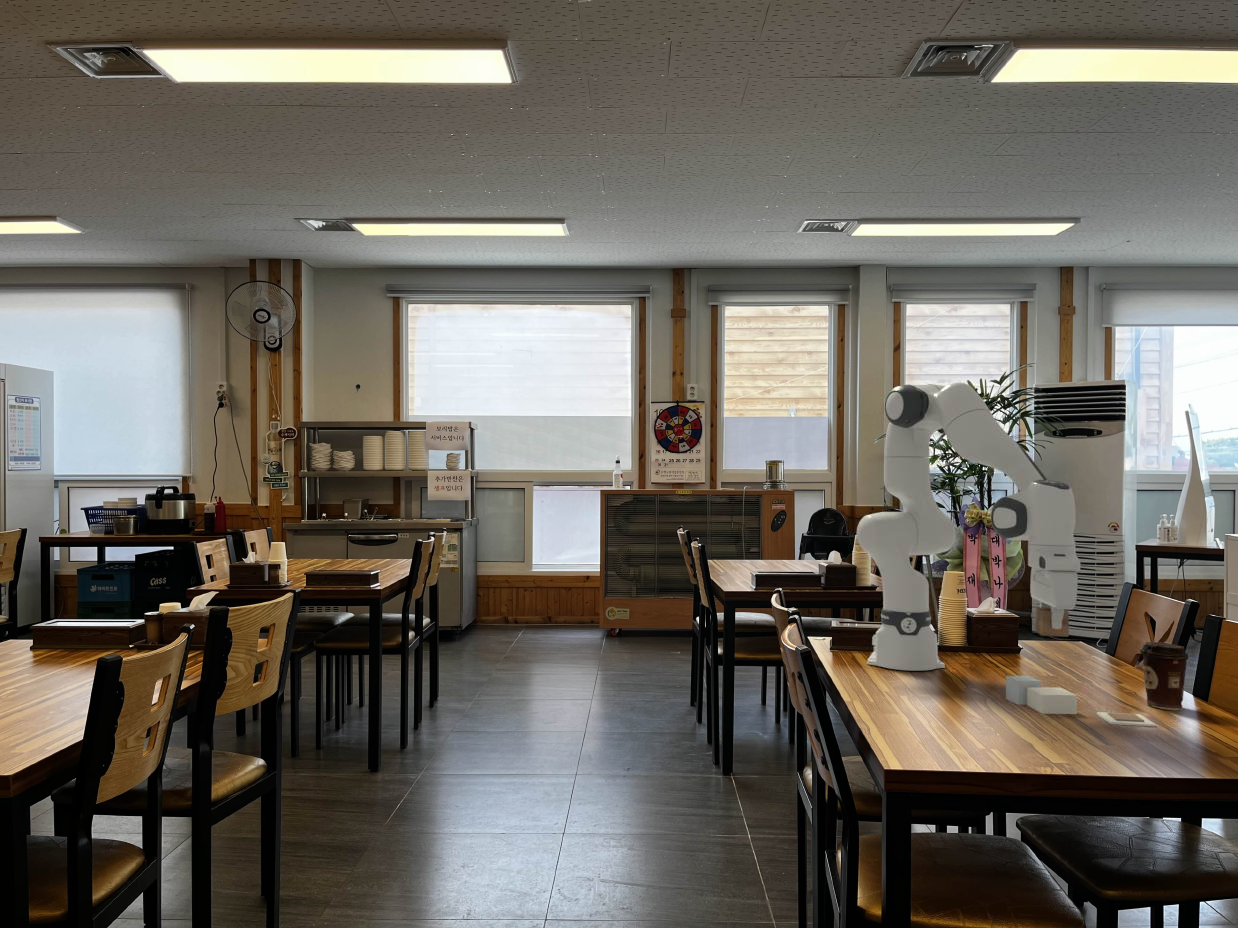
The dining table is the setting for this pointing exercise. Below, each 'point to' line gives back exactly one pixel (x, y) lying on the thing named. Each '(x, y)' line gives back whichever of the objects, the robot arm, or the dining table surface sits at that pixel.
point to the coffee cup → (1164, 674)
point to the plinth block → (1051, 700)
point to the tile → (1126, 719)
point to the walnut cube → (1044, 623)
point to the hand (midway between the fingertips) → (1051, 626)
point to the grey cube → (1019, 688)
